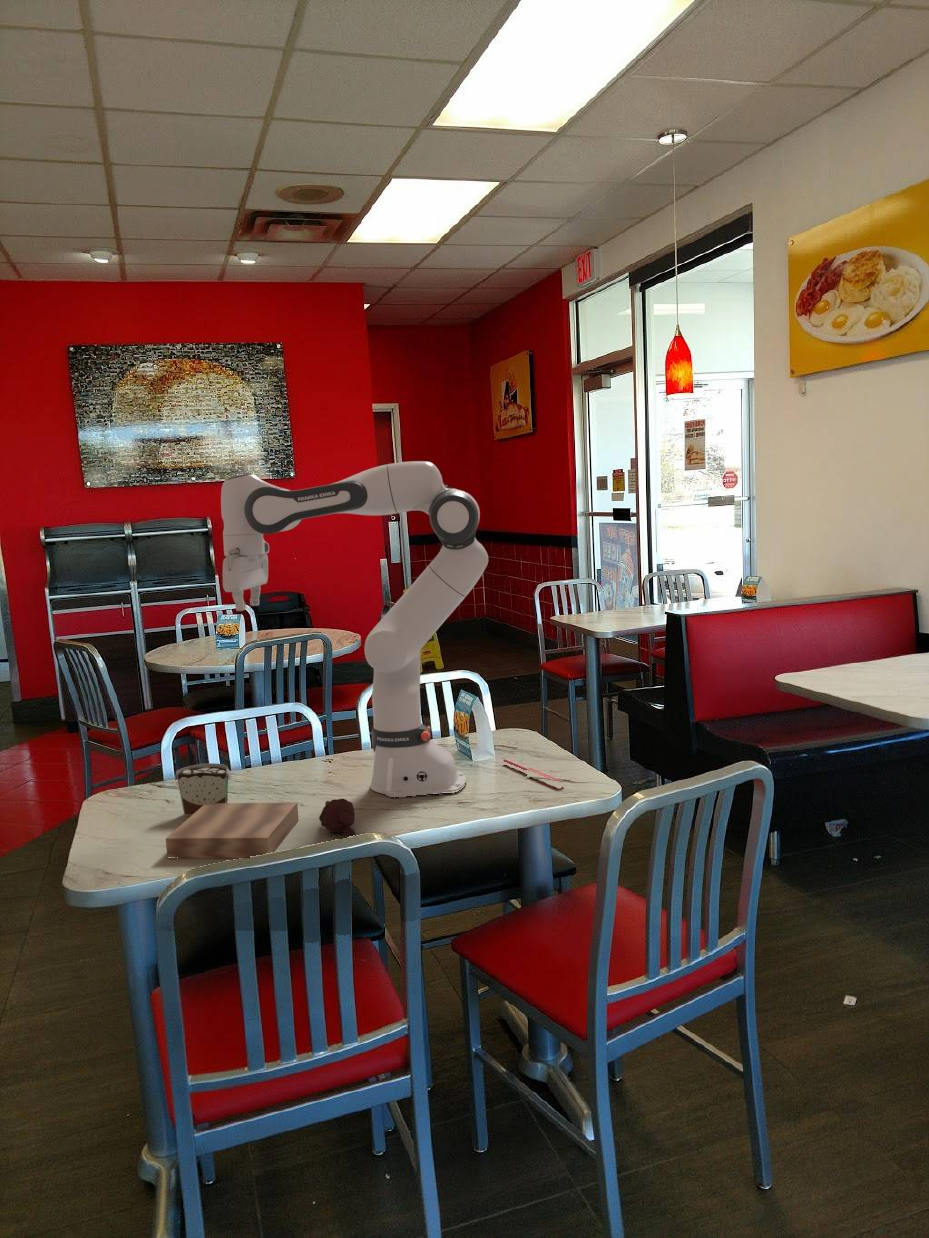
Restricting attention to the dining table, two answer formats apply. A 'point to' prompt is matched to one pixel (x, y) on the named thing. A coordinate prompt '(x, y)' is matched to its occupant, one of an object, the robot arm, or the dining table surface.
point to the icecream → (338, 816)
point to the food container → (202, 785)
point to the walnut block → (233, 830)
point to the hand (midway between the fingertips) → (248, 608)
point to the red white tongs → (529, 769)
